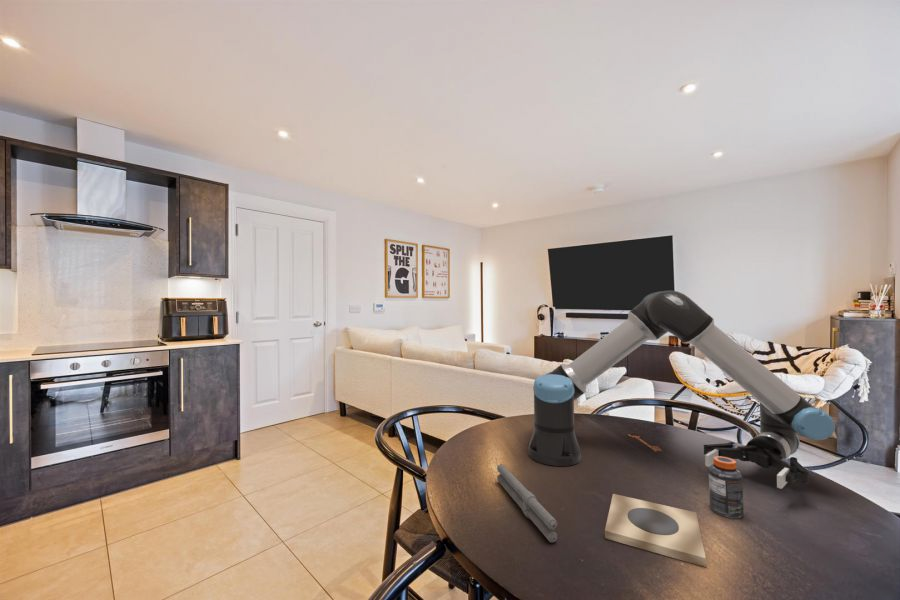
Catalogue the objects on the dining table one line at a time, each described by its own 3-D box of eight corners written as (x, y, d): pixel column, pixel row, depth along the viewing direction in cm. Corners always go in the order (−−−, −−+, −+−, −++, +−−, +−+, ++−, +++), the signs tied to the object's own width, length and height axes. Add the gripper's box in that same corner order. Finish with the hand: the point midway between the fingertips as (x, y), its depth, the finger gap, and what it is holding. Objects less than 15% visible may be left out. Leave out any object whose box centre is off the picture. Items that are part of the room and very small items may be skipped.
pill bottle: (739, 507, 80) (737, 456, 81) (747, 522, 75) (746, 466, 75) (706, 501, 83) (705, 452, 83) (712, 515, 77) (711, 461, 78)
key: (668, 453, 112) (642, 436, 127) (668, 450, 112) (642, 433, 127) (650, 452, 112) (626, 435, 127) (650, 449, 112) (626, 432, 127)
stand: (604, 538, 70) (604, 529, 70) (613, 500, 84) (612, 492, 84) (705, 567, 62) (705, 557, 62) (696, 519, 76) (696, 511, 76)
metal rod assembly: (495, 483, 92) (495, 463, 93) (505, 482, 93) (505, 462, 93) (547, 547, 68) (547, 520, 68) (560, 544, 68) (560, 517, 68)
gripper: (835, 482, 86) (816, 511, 74) (713, 449, 107) (681, 468, 94) (834, 450, 87) (815, 474, 74) (712, 423, 107) (681, 439, 95)
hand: (740, 470), depth 84 cm, fingers open, 13 cm apart
